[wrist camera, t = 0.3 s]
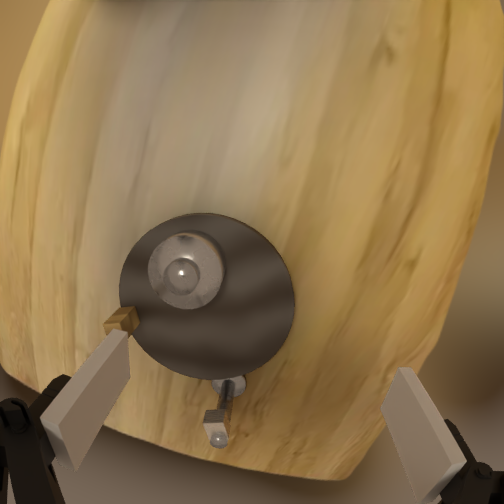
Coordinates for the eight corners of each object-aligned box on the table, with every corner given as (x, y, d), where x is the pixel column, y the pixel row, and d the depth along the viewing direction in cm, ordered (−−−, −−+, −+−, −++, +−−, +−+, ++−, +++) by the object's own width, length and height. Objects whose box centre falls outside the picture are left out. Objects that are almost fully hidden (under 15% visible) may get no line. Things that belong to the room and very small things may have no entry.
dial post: (208, 367, 44) (190, 427, 32) (241, 363, 44) (234, 425, 32) (216, 395, 46) (203, 456, 33) (248, 392, 45) (243, 454, 33)
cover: (152, 235, 36) (134, 247, 31) (218, 223, 36) (210, 233, 30) (168, 299, 38) (154, 319, 33) (232, 290, 38) (226, 310, 32)
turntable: (105, 231, 39) (78, 243, 32) (278, 197, 37) (281, 204, 30) (151, 376, 44) (135, 404, 37) (302, 361, 42) (307, 392, 35)
